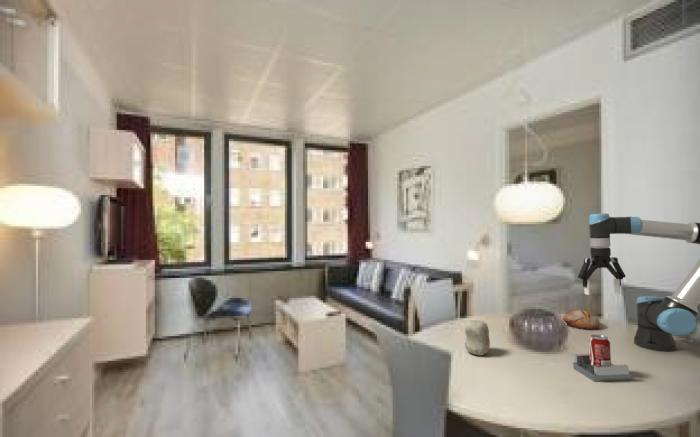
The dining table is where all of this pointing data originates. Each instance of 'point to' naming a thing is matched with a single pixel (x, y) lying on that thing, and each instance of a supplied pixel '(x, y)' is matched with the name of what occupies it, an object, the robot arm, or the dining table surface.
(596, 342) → the soda can
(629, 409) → the dining table surface
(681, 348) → the dining table surface
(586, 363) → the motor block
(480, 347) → the stone
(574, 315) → the bread
